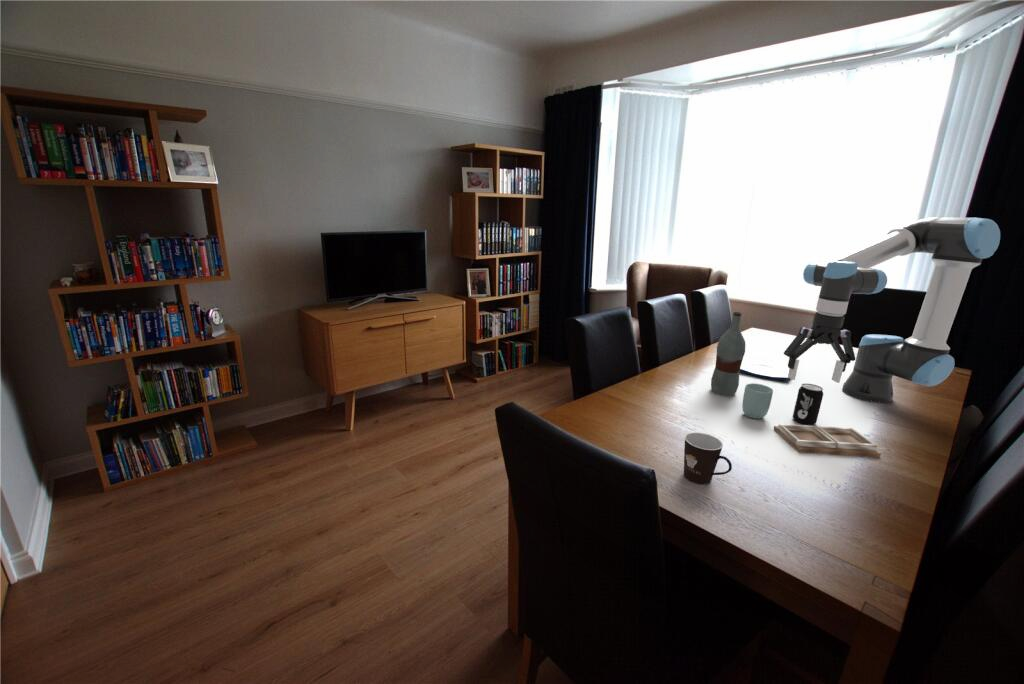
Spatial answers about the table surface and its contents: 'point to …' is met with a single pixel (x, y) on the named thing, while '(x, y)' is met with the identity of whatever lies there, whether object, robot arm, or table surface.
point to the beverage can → (808, 404)
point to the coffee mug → (702, 457)
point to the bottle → (729, 359)
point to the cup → (756, 400)
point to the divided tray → (827, 440)
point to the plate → (764, 369)
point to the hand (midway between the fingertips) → (813, 379)
